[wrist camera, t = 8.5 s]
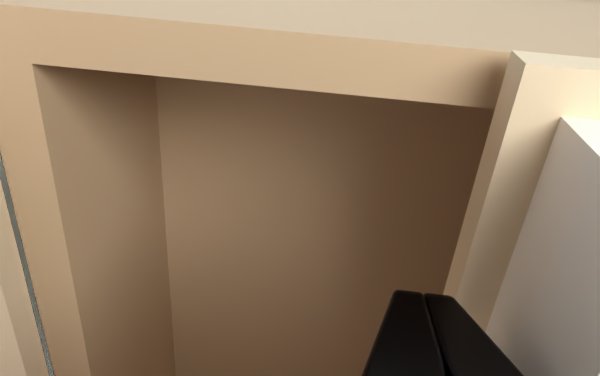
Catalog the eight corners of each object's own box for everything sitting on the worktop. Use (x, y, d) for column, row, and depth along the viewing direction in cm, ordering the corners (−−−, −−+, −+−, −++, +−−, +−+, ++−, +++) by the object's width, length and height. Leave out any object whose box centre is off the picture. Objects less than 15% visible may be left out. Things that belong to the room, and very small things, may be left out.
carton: (725, 9, 12) (1022, 101, 7) (522, 439, 20) (585, 633, 15) (125, -46, 12) (-36, 1, 7) (164, 398, 20) (101, 572, 15)
